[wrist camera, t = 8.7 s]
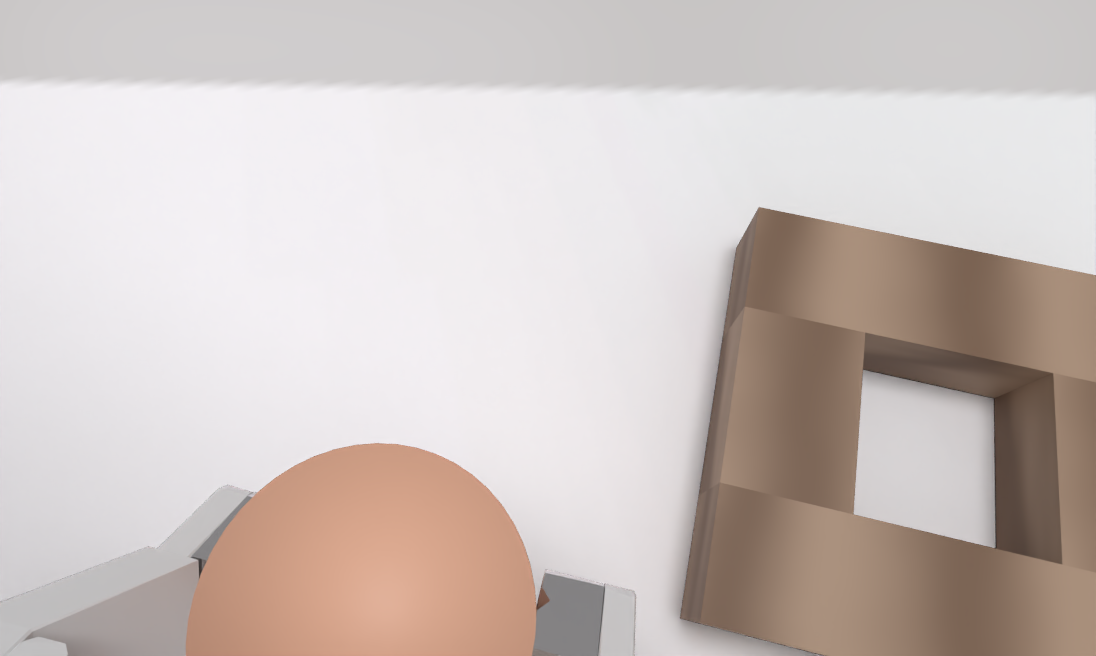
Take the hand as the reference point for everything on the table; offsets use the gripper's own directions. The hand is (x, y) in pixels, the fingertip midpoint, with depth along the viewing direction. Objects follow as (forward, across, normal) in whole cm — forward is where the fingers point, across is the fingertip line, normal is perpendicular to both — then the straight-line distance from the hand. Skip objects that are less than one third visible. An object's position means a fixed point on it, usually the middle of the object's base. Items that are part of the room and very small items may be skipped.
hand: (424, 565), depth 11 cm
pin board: (+13, -14, +3) cm, 19 cm away
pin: (+3, 0, +4) cm, 5 cm away
